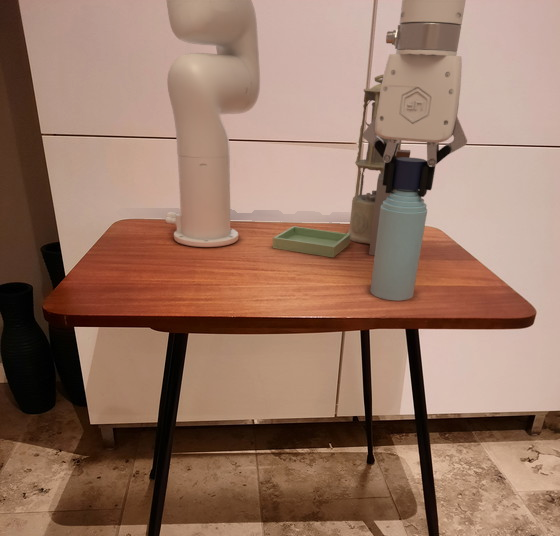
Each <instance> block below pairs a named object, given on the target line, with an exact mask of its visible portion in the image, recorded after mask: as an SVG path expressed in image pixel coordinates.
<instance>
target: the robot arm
mask: <svg viewBox="0 0 560 536" xmlns="http://www.w3.org/2000/svg"><path fill="white" fill-rule="evenodd" d="M465 6H466V0H401V7H400V16H399V23H398V25H397V28H395V29H394V30H393V31H392V30H391V31H390V30H389V31H387V32H386V37H385V43H386V44H391V45H392V46H394V49H395V53H390V54H388V58H387V60H386V64H385V67H384V68H385V69H384V73H383V74H384V76H383V81H382V86H381V91H380V97H379V103H378V109H377V115H376V117H375V118H374V119H373V121H372V122H371V121H370V122H371V123H369V124H370V125H369V126H367V127H366V129H365V130H364V131H363V137H362V138H363V139H365V141H367V143H368V142H369V143H370V144H371V145H373V146H374V147H375V149H376V150H377V151H378V153H379V154H380V155H381V157H382V158H383V161H384V162H385V168H384V176H383V186H386V193H391V192H392V191H393V190H394V187H392V185H393V178H394V170H395V162H396V158H397V157H396V153H397V150H398V146H399V143H400V140H401V141H402V142H403V141H404V142H405V141H406V142H415V143H416V142H418V143H426V163H425V166H424V167H423V169H422V175H421V181H420V188H419V196H420V197H421V198H424V197H425V196H426V195H427V193H428V191H432V188H433V184H434V177H435V173H436V172H435V171H436V166H437V165H438V164H439V163H440V162H441V161H443V160H444V159H445V158H446V157H447V156H449V155H450V154H452V153H454V152H456V151H458V150H459V149H461V148H464V147H465V146H466V145H467V144H468V138H467V136H466V134H465V132H464V129H463V126H462V124H461V122H460V120H459V118H458V114H459V105H460V95H461V86H462V67H463V65H462V63H463V62H462V60H463V59H462V56H461V55H458V48H459V44H460V43H459V42H460V38H461V37H460V36H461V30H462V24H463V18H464V12H465ZM166 7H167V15H168V20H169V25H170V28H171V31H172V33H173V34H174V36H175V37H176V38H177V39H178V40H179V41H181V42H184V43H188V44H191V45H200V46H211V47H215V48H216V53H208V52H207V53H206V52H192V53H191V52H190V53H186V54H183V55H180V56H179V57H178V58H176V59H175V60H174V61H173V62H172V63H171V65H170V67H169V70H168V73H167V78H166V79H167V84H166V85H167V92H168V96H169V101H170V104H171V109H172V114H173V120H174V128H175V138H176V139H175V140H176V154H177V165H178V166H177V168H178V171H177V172H178V186H179V187H178V189H179V209H180V213H178V212H171V211H168V213H166V217H165V224H166V225H175V227H176V230H175V231H174V232H173V238H174V241H175V242H177V243H179V244H181V245H184V246H190V247H196V248H216V247H224V246H229V245H233V244H234V243H236V242H238V240H239V232H238V231H237V230H236V229H234V228H231V155H230V153H231V152H230V139H229V135H228V132H227V129H226V126H225V124H224V122H223V120H222V117H221V116H222V115H241V114H245V113H247V112H249V111H250V110H252V109H253V108H254V106H255V105H256V104H257V101H258V100H259V96H260V92H261V91H260V90H261V68H260V52H259V50H260V49H259V36H258V23H257V21H258V20H257V14H256V9H255V6H254V3H253V1H252V0H166ZM380 137H381V138H384V139H388V142H387V144H386V142H385V141H384V140H382V139H381V138H380ZM451 137H453V140H452V141H450V142H449V143H447V144H445V145H443V146H442V147H441V148H440V143H444V142H446V141H448V140H449V139H450V138H451Z"/></svg>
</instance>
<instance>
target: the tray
mask: <svg viewBox="0 0 560 536" xmlns="http://www.w3.org/2000/svg"><path fill="white" fill-rule="evenodd" d="M350 236H351V234H347V232H346V233H345V232H339V231H331V230H324V229H316V228H310V227H303V226H297V225H293V226H291V227H289V228H288V229H285V230H284V231H282V232H281V233H279V234H277V235H275V236H273V237H272V249H277V250H283V251H288V252H294V253H301V254H307V255H315V256H321V257H327V258H335V257H336V256H337V255H339V254H340V253H341V252H342V251H344V250H345V249H346V248H347V247H348V246H349V245H350V244H351V240H350Z"/></svg>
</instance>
